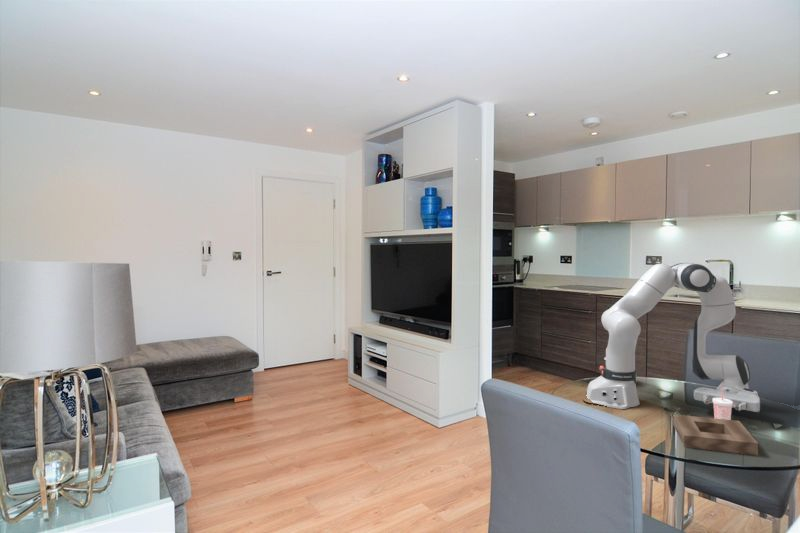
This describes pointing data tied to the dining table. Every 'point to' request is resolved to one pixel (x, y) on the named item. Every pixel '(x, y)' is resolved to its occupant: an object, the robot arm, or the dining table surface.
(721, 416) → the beverage cup
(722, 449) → the walnut tray
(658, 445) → the dining table surface
